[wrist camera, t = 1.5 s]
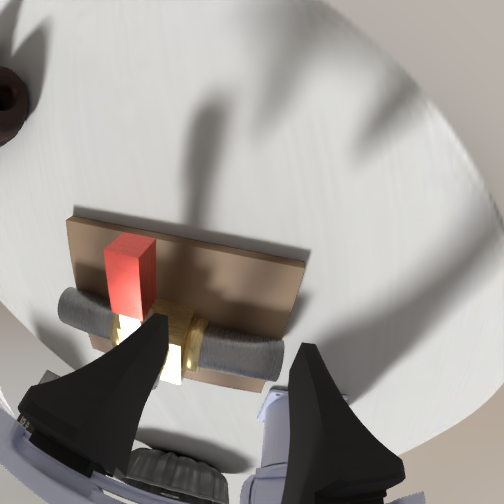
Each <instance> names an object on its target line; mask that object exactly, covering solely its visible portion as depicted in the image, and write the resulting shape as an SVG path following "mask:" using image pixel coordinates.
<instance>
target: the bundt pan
mask: <svg viewBox="0 0 504 504" xmlns="http://www.w3.org/2000/svg"><path fill="white" fill-rule="evenodd" d="M116 479H117V478H116ZM118 480H120V481H122V482H123V483H125V484H127V485H129V486H131V487H134V488H137V489H140V490H143V491H145V492H149V493H152V494H155V495H158V496H161V497H165V498H168V499H172V500H176V501H180V502H184V503H188V504H229V498H228V497H229V496H228V483H227V480H226V478H225V477H224V476H223V475H222V474H221V473H220V472H219V471H218V470H217V469H215V468H213V467H211V466H208V465H207V464H206V463H205V462H202V461H194V460H193V459H191V458H189V457H185V456H181V457H177V456H176V455H175V454H174V453H173V452H169V453H164V452H163V451H161V450H157V449H148V448H138V449H135V450H133V451H131V454H130V459H129V464H128V469H127V475H126V477H125V478H122V479H118Z"/></svg>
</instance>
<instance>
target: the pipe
mask: <svg viewBox="0 0 504 504" xmlns="http://www.w3.org/2000/svg"><path fill="white" fill-rule="evenodd" d="M27 110H28V93H27V87H26V85H25V83H24V82H23V81H22V80H21V79H20V78H19V76H18V75H17V74H16V73H15V72H13V71H12V70H10V69H8V68H5V67H0V147H1V146H3V145H5V144H6V143H7V142H8V141H10V140H11V139H13V138H14V137H15V136H16V135H17V133H18V131H19V130H20V129H21V128H22V126H23V124H24V121H25V118H26V114H27Z"/></svg>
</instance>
